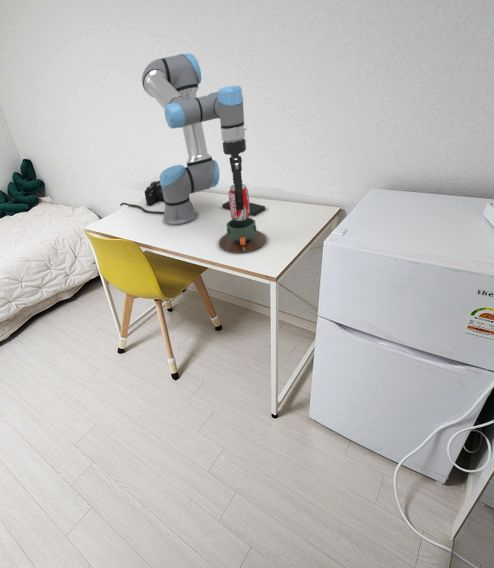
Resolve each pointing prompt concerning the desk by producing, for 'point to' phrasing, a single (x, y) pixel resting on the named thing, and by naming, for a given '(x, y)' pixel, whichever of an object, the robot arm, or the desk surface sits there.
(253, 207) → the smart home device
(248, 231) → the cup holder
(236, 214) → the soda can
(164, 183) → the robot arm
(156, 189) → the film camera
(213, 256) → the desk surface
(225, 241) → the holder base
